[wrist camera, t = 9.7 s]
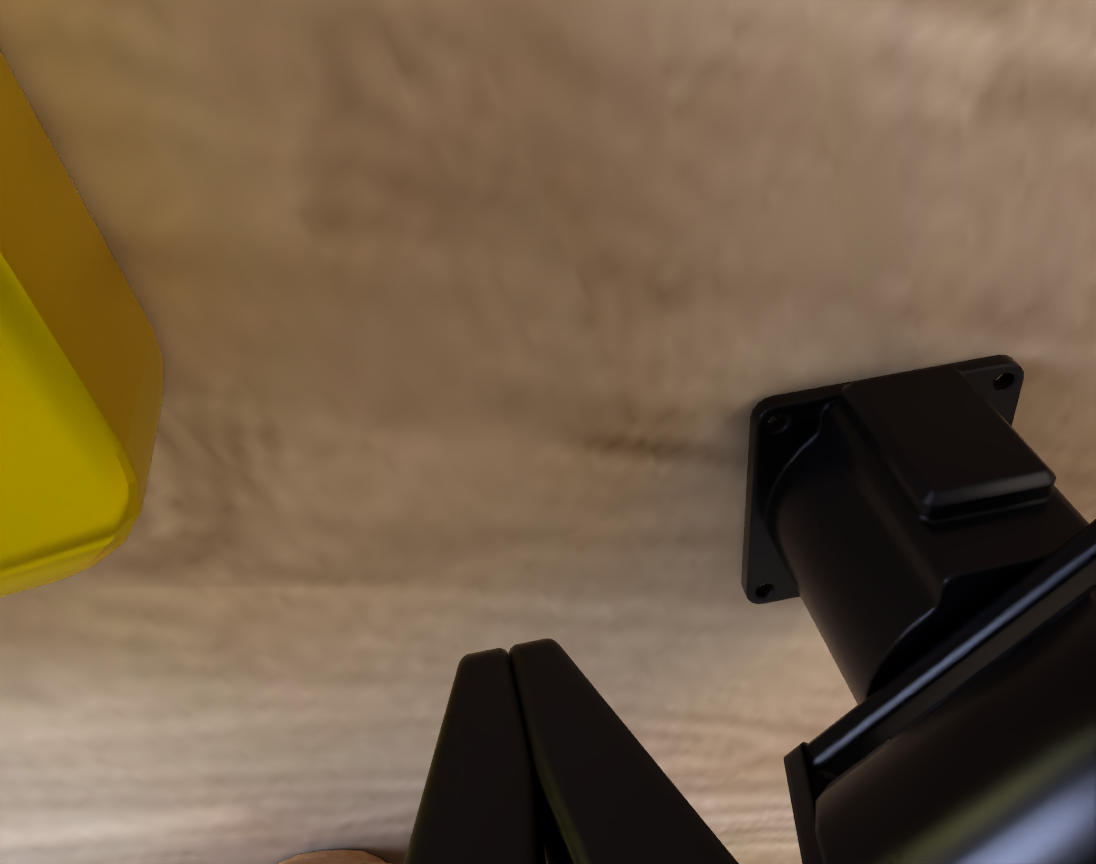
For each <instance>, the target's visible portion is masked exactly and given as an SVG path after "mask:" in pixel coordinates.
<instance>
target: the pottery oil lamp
mask: <svg viewBox="0 0 1096 864" xmlns="http://www.w3.org/2000/svg"><path fill="white" fill-rule="evenodd" d="M278 864H392V863H386V862H385V861H384V860H382V859H381V858H379V857H376V856H374V855H372V854H368V853H366V852H365V851H361V850H360V851H353V850H333V851H332V850H330V851H328V850H321V851H317V852H310V853H302V854H299V855H296V856H293V857H291V858H289V859H287V860H284V861H282V862H280V863H278Z"/></svg>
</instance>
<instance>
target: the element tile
mask: <svg viewBox="0 0 1096 864" xmlns="http://www.w3.org/2000/svg"><path fill="white" fill-rule="evenodd" d="M163 394H164V375H163V357H162V354H161V351H160V348H159V345H158V343H157V340H156V337H155V334H154V331H153V328H152V326H151V324H150V323H149V321H148V319H147V317H146V315H145V314H144V312H143V310H142V308H141V306H140V304H139V303H138V301H137V299H136V297H135V295H134V294H133V292H132V290H131V288H130V286H129V284H128V283H127V281H126V279H125V277H124V275H123V273H122V272H121V270H120V268H119V266H118V264H117V263H116V261H115V259H114V257H113V255H112V253H111V252H110V250H109V248H108V246H107V244H106V242H105V241H104V239H103V237H102V235H101V233H100V232H99V230H98V228H97V226H96V224H95V222H94V221H93V219H92V217H91V215H90V213H89V211H88V210H87V208H86V206H85V204H84V202H83V201H82V199H81V197H80V195H79V193H78V191H77V190H76V188H75V186H74V184H73V182H72V181H71V179H70V177H69V175H68V173H67V171H66V170H65V168H64V166H63V164H62V162H61V160H60V159H59V157H58V155H57V153H56V151H55V150H54V148H53V146H52V144H51V142H50V140H49V139H48V137H47V135H46V133H45V131H44V129H43V128H42V126H41V124H40V122H39V120H38V119H37V117H36V115H35V113H34V111H33V109H32V108H31V106H30V104H29V102H28V100H27V98H26V97H25V95H24V93H23V91H22V89H21V88H20V86H19V84H18V82H17V80H16V78H15V77H14V75H13V73H12V71H11V69H10V67H9V66H8V64H7V62H6V60H5V58H4V57H3V55H2V53H1V51H0V597H4V596H7V595H11V594H14V593H18V592H21V591H24V590H28V589H31V588H35V587H38V586H42V585H45V584H48V583H52V582H55V581H59V580H62V579H65V578H67V577H69V576H72V575H74V574H76V573H78V572H81V571H83V570H85V569H87V568H90V567H92V566H94V565H95V564H97V563H98V562H99V561H101V560H102V559H103V558H104V557H106V556H107V555H108V554H110V553H111V552H112V551H114V550H115V549H116V548H118V547H119V546H120V545H122V544H123V543H124V542H125V541H126V539H127V538H128V536H129V534H130V532H131V530H132V528H133V526H134V524H135V522H136V520H137V518H138V516H139V514H140V512H141V511H142V507H143V502H144V497H145V491H146V486H147V480H148V475H149V470H150V464H151V459H152V454H153V448H154V443H155V437H156V432H157V427H158V421H159V416H160V410H161V405H162V400H163Z"/></svg>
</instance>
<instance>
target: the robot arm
mask: <svg viewBox="0 0 1096 864" xmlns="http://www.w3.org/2000/svg"><path fill="white" fill-rule="evenodd" d="M1002 374H1003V375H1002ZM1000 375H1002V376H1001V377H1000V378H999V379H998V380H995V379H996V378H997V377H999V376H1000ZM1023 379H1024V371H1023V370H1022V368H1021V367H1020V366H1019V365H1018V364H1017V363H1016V362H1015V361H1014V360H1013V359H1012V358H1011V357H1009V356H1007V355H996V356H990V357H985V358H979V359H974V360H968V361H963V362H957V363H952V364H946V365H941V366H935V367H930V368H924V369H919V370H913V371H908V372H902V373H897V374H891V375H886V376H880V377H875V378H869V379H864V380H858V381H853V382H847V383H842V384H836V385H831V386H825V387H820V388H814V389H809V390H803V391H798V392H792V393H787V394H781V395H776V396H771V397H768V398H765V399H763V400H762V401H761V402H759V403H758V404H757V405H756V406H755V408H754V409H753V410H752V413H751V417H750V434H749V452H748V471H747V489H746V508H745V526H744V545H743V563H742V582H741V583H742V588H743V590H744V592H745V594H746V596H747V598H748V600H749V601H751V602H752V603H756V604H764V603H769V602H774V601H779V600H784V599H789V598H794V597H799V596H801V598H802V600H803V602H804V603H805V605H806V607H807V609H808V611H809V613H810V615H811V617H812V619H813V620H814V622H815V624H816V626H817V628H818V630H819V632H820V634H821V636H822V637H823V639H824V641H825V643H826V645H827V647H828V649H829V651H830V653H831V654H832V656H833V658H834V660H835V662H836V664H837V666H838V668H839V670H840V671H841V673H842V675H843V677H844V679H845V681H846V683H847V685H848V687H849V689H850V690H851V692H852V694H853V696H854V698H855V700H856V702H857V704H858V705H857V706H856V707H854V708H853V709H852V710H851V711H849V712H848V713H847V714H845V715H844V716H843V717H842V718H840V719H839V720H838V721H836V722H835V723H834V724H833V725H831V726H830V727H829V728H827V729H826V730H825V731H824V732H822V733H821V734H820V735H819V736H817V737H816V738H815V739H813V740H812V741H811V742H810V743H805V742H802V743H801V744H800V745H799V746H797V747H796V748H795V749H794V750H792V751H791V752H790V753H788V754H787V755H786V756H785V757H784V764H785V770H786V775H787V781H788V786H789V792H790V798H791V803H792V809H793V814H794V820H795V825H796V831H797V836H798V842H799V848H800V853H801V859H802V864H1096V519H1095V520H1094V521H1093V522H1091V523H1090V524H1089V523H1088V522H1087V521H1086V520H1085V519H1084V518H1083V517H1082V515H1081V514H1080V513H1079V512H1078V511H1077V510H1076V509H1075V508H1074V507H1073V505H1072V504H1071V503H1070V502H1069V501H1068V500H1067V499H1066V498H1065V497H1064V496H1063V494H1062V493H1061V492H1060V491H1059V490H1058V489H1057V488H1056V487H1055V486H1054V483H1055V480H1056V477H1055V474H1054V472H1053V471H1052V470H1051V469H1050V468H1049V467H1048V466H1047V465H1046V464H1045V463H1044V462H1043V460H1042V459H1041V458H1040V457H1039V456H1038V455H1037V454H1036V453H1035V452H1034V451H1033V450H1032V448H1031V447H1030V446H1029V445H1028V444H1027V443H1026V442H1025V441H1024V440H1023V439H1022V438H1021V436H1020V435H1019V434H1018V433H1017V432H1016V431H1015V430H1014V429H1013V428H1012V427H1011V426H1012V422H1013V418H1014V414H1015V410H1016V406H1017V402H1018V398H1019V394H1020V390H1021V386H1022V383H1023ZM776 415H781V416H780V417H779V418H778V419H777V420H776V421H773V422H768V421H769V420H770V419H771V418H772V417H774V416H776ZM763 584H764V585H763ZM546 861H547V862H546ZM404 864H738V862H737V861H736V860H735V859H734V857H733V856H732V855H731V854H730V853H729V851H728V850H727V849H726V848H725V846H724V845H723V844H722V843H721V842H720V840H719V839H718V838H717V837H716V835H715V834H714V833H713V832H712V831H711V829H710V828H709V827H708V826H707V824H706V823H705V822H704V821H703V820H702V818H701V817H700V816H699V815H698V813H697V812H696V811H695V810H694V809H693V807H692V806H691V805H690V804H689V803H688V801H687V800H686V799H685V798H684V796H683V795H682V794H681V793H680V792H679V790H678V789H677V788H676V787H675V785H674V784H673V783H672V782H671V781H670V779H669V778H668V777H667V776H666V774H665V773H664V772H663V771H662V770H661V768H660V767H659V766H658V765H657V763H656V762H655V761H654V760H653V759H652V757H651V756H650V755H649V754H648V752H647V751H646V750H645V749H644V748H643V746H642V745H641V744H640V743H639V741H638V740H637V739H636V738H635V737H634V735H633V734H632V733H631V732H630V730H629V729H628V728H627V727H626V726H625V724H624V723H623V722H622V721H621V719H620V718H619V717H618V716H617V715H616V713H615V712H614V711H613V710H612V708H611V707H610V706H609V705H608V704H607V702H606V701H605V700H604V699H603V698H602V696H601V695H600V694H599V693H598V691H597V690H596V689H595V688H594V687H593V685H592V684H591V683H590V682H589V680H588V679H587V678H586V677H585V676H584V674H583V673H582V672H581V671H580V669H579V668H578V667H577V666H576V665H575V663H574V662H573V661H572V660H571V658H570V657H569V656H568V655H567V654H566V652H565V651H564V650H563V649H562V647H561V646H560V645H559V644H558V643H557V642H555V641H554V640H552V639H541V640H536V641H531V642H526V643H521V644H516V645H514V646H513V647H512V648H511V649H510V651H509V655H508V652H507V651H506V650H504V649H502V648H496V649H491V650H486V651H481V652H476V653H471V654H467V655H465V656H464V657H463V658H462V659H461V661H460V663H459V665H458V668H457V672H456V676H455V679H454V683H453V687H452V690H451V694H450V697H449V701H448V705H447V708H446V712H445V716H444V719H443V723H442V726H441V730H440V734H439V737H438V741H437V745H436V748H435V752H434V755H433V759H432V763H431V766H430V770H429V774H428V777H427V781H426V784H425V788H424V792H423V795H422V799H421V803H420V806H419V810H418V813H417V817H416V821H415V824H414V828H413V832H412V835H411V839H410V842H409V846H408V850H407V853H406V857H405V860H404Z"/></svg>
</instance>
